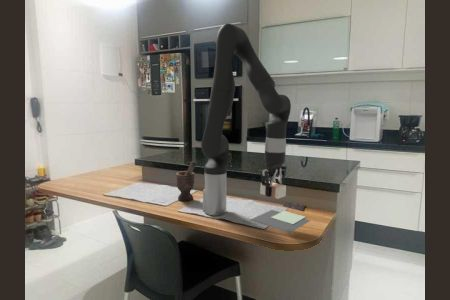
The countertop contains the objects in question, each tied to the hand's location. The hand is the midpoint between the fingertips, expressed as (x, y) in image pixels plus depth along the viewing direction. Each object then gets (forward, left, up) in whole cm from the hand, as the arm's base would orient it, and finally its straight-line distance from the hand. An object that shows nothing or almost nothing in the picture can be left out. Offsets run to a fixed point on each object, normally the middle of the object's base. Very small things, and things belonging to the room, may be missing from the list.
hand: (272, 194), depth 112 cm
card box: (0, 0, 0) cm, 0 cm away
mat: (0, +5, -12) cm, 13 cm away
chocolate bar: (-3, +19, -13) cm, 23 cm away
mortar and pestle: (-47, -1, -12) cm, 48 cm away
